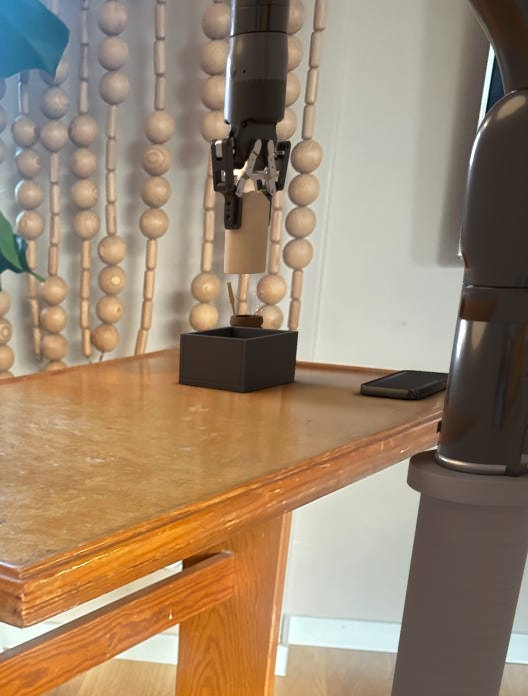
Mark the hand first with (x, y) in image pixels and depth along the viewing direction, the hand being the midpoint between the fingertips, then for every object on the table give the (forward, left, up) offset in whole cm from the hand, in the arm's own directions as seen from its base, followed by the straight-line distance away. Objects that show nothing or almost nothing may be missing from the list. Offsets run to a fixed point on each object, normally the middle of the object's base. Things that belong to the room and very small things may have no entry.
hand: (247, 228), depth 121 cm
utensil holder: (+12, -17, -20) cm, 29 cm away
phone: (-20, -11, -20) cm, 30 cm away
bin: (+1, -1, -20) cm, 20 cm away
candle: (0, 0, -6) cm, 6 cm away
